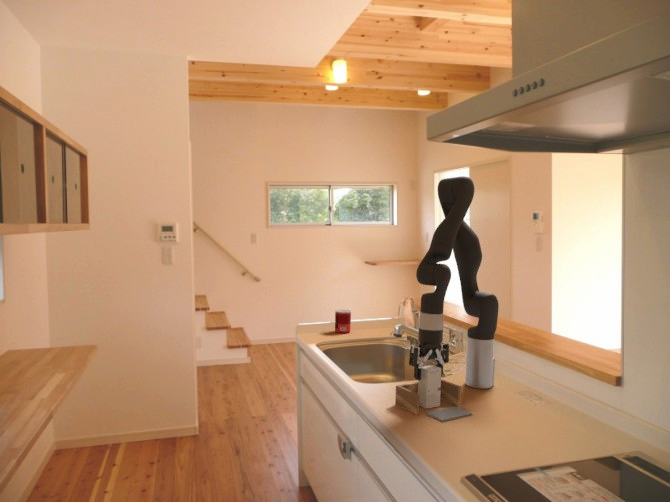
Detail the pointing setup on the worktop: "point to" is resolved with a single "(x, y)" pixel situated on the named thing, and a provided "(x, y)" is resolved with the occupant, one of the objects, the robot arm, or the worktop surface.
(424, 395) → the skincare box
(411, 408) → the brown wooden u-shaped piece
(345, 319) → the canned food
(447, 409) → the grey mat
